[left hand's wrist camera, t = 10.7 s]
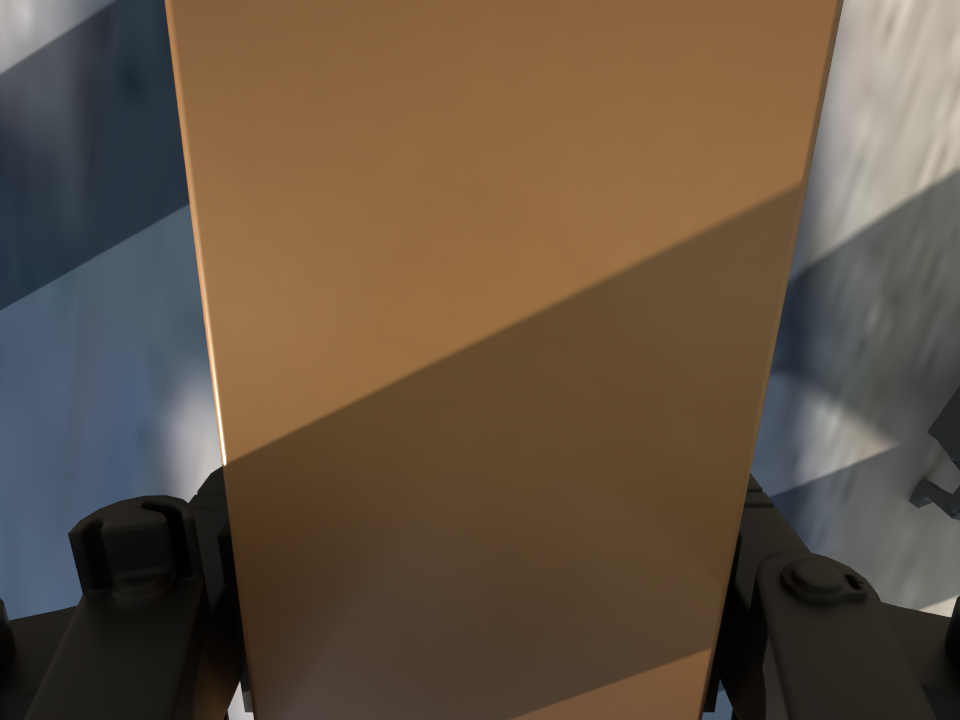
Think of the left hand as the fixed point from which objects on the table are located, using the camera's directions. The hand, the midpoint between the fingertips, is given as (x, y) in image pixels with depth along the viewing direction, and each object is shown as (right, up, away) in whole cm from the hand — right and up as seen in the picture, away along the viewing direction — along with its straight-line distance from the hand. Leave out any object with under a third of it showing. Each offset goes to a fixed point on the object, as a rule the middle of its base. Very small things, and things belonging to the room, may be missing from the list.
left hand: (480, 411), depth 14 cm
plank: (+1, +23, -8) cm, 24 cm away
